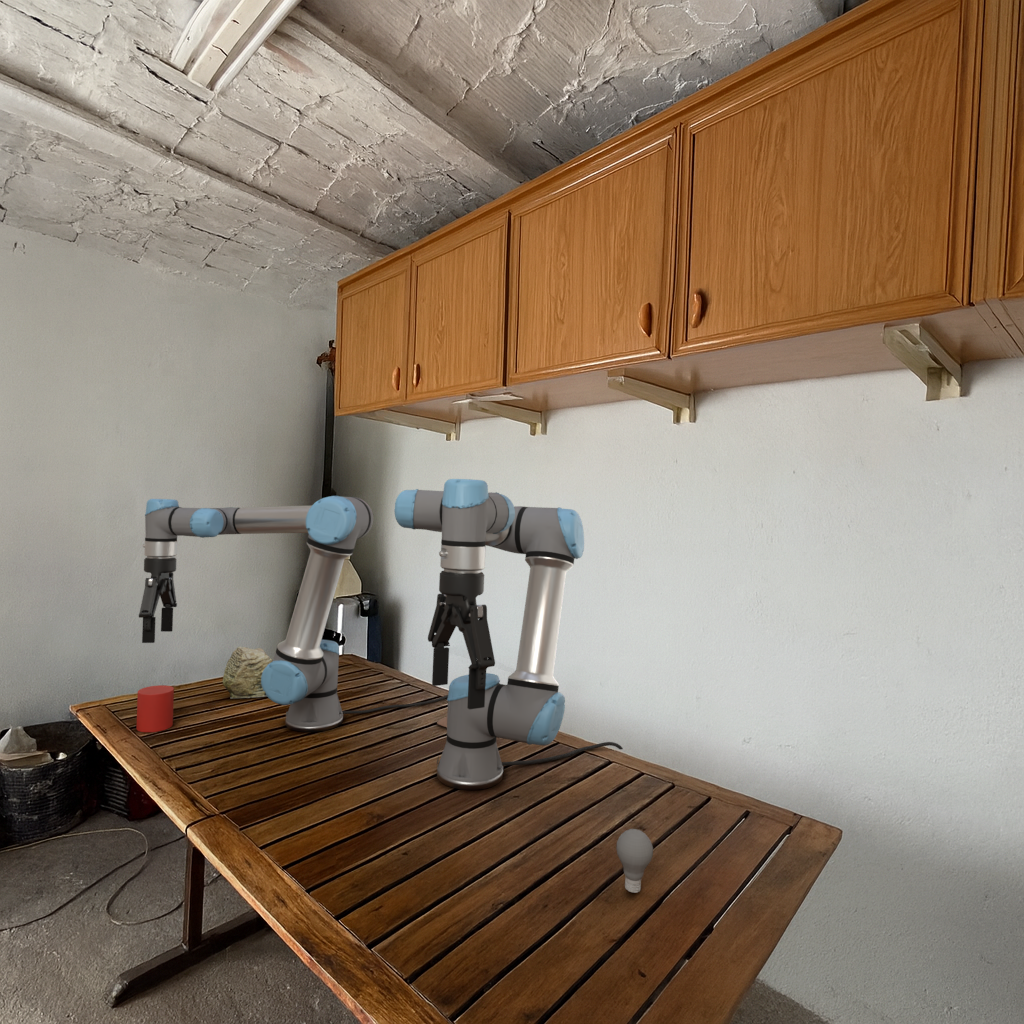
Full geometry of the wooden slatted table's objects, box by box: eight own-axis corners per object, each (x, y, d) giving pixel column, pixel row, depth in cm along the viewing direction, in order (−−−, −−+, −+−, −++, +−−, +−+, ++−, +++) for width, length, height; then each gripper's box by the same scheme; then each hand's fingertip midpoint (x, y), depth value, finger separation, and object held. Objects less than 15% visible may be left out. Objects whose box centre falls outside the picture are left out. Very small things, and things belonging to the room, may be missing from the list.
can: (165, 732, 165) (166, 694, 165) (130, 732, 164) (131, 694, 164) (177, 720, 173) (179, 685, 173) (144, 721, 172) (146, 685, 172)
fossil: (218, 695, 195) (220, 647, 195) (278, 685, 208) (279, 640, 207) (228, 703, 189) (230, 653, 188) (289, 692, 201) (290, 645, 201)
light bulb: (610, 879, 108) (613, 822, 108) (644, 879, 109) (647, 822, 109) (619, 902, 102) (622, 840, 102) (655, 901, 103) (658, 840, 103)
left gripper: (161, 552, 179) (159, 627, 180) (125, 561, 155) (123, 647, 155) (190, 553, 181) (187, 627, 181) (159, 562, 156) (156, 647, 157)
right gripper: (412, 562, 115) (408, 678, 116) (477, 580, 94) (471, 722, 95) (449, 562, 119) (445, 674, 120) (520, 579, 98) (514, 715, 99)
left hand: (157, 636), depth 168 cm, fingers open, 13 cm apart
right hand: (456, 695), depth 107 cm, fingers open, 13 cm apart
